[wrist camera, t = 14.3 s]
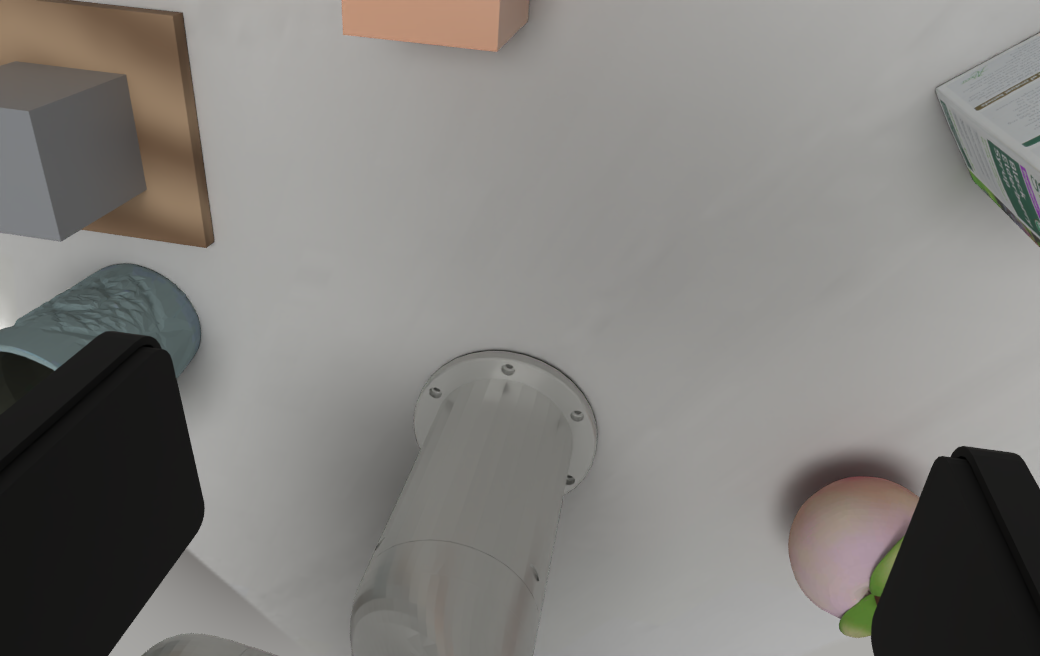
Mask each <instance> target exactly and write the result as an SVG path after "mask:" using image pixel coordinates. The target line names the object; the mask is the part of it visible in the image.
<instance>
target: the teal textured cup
mask: <svg viewBox="0 0 1040 656" xmlns="http://www.w3.org/2000/svg"><path fill="white" fill-rule="evenodd" d="M105 331H117V332H124V333H131V334H139V335H146V336H151V337H153V338H155V339H156V340H157V341H158V342H159V343H160V346H161V348H162V349H164V350H166V351H168V353H169V354H170V355H171V358H172V361H173V366H174V370H175V375H176V378H177V377H179V375H180V374H181V373H182V372H183V370H184V369H185V368H186V366H187V365H188V364H189V363H190V361H191V360H192V358H193V357H194V356H195V354H196V352H197V350H198V347H199V344H200V338H201V331H200V324H199V319H198V315H197V313H196V312H195V310H194V308H193V306H192V304H191V302H190V301H189V300H188V299H187V298H186V294H184V293H183V292H182V291H181V290H179V289H178V288H177V286H176V285H175V284H173V283H172V282H171V281H170V280H168V279H166V278H165V277H164V276H161V275H160V274H158V273H156V272H154V271H152V270H149V269H147V268H145V267H140V266H139V265H134V264H117V265H112V266H108V267H105V268H103V269H101V270H99V271H97V272H96V273H94V274H92V275H91V276H89V277H87V278H86V279H84V280H83V281H81V282H79V283H78V284H77V285H75V286H73V287H72V288H71V289H68V290H66V291H65V292H63V293H61V294H59V295H57V296H55V297H54V298H53V299H51V300H50V301H49V302H45V303H44V304H42V305H41V306H40V307H38V308H36V309H34V310H32V311H31V312H29V313H28V314H26V315H24V316H23V317H21V318H19V319H18V320H17V321H16V323H15V325H14V326H12V327H8V328H4V329H1V330H0V415H1V414H2V413H3V412H4V411H6V410H7V409H8V408H9V407H11V406H12V405H13V404H14V403H16V402H17V401H18V400H19V399H21V398H22V397H23V396H24V395H25V394H27V393H28V392H29V391H30V390H32V389H33V388H34V387H35V386H37V385H38V384H39V383H40V382H41V381H43V380H44V379H45V378H46V377H48V376H49V375H50V374H51V373H53V372H54V371H55V370H56V369H57V368H59V367H60V366H61V365H62V364H64V363H65V362H66V361H67V360H69V359H70V358H71V357H72V356H74V355H75V354H76V353H77V352H78V351H80V350H81V349H82V348H83V347H85V346H86V345H87V344H88V343H90V342H91V341H92V340H93V339H94V338H96V337H97V336H98V335H100V334H102V333H103V332H105Z"/></svg>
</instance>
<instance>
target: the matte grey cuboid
mask: <svg viewBox="0 0 1040 656" xmlns="http://www.w3.org/2000/svg"><path fill="white" fill-rule="evenodd" d="M146 190H147V187H146V182H145V176H144V171H143V165H142V160H141V154H140V149H139V143H138V138H137V132H136V126H135V121H134V115H133V110H132V104H131V99H130V93H129V88H128V82H127V77H126V75H125V74H117V73H109V72H100V71H92V70H84V69H76V68H67V67H59V66H51V65H43V64H34V63H26V62H18V61H15V62H11V63H8V64H4V65H1V66H0V233H7V234H13V235H20V236H27V237H33V238H40V239H47V240H54V241H60V242H61V241H63V240H64V239H66V238H68V237H69V236H71V235H73V234H74V233H76V232H78V231H79V230H81V229H83V228H84V227H86V226H88V225H89V224H91V223H93V222H94V221H96V220H98V219H99V218H101V217H102V216H104V215H106V214H107V213H109V212H111V211H112V210H114V209H116V208H117V207H119V206H121V205H122V204H124V203H126V202H127V201H129V200H131V199H132V198H134V197H136V196H137V195H139V194H141V193H142V192H144V191H146Z"/></svg>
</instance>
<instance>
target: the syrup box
mask: <svg viewBox="0 0 1040 656" xmlns="http://www.w3.org/2000/svg"><path fill="white" fill-rule="evenodd" d="M936 93H937V96H938V99H939V102H940V105H941V107H942V110H943V112H944V115H945V117H946V120H947V122H948V125H949V127H950V130H951V132H952V134H953V136H954V139H955V141H956V143H957V145H958V148H959V150H960V152H961V154H962V157H963V159H964V161H965V163H966V165H967V167H968V169H969V171H970V174H971V176H972V179H973V181H974V182H975V183H976V184H977V185H978V186H979V187H980V188H981V189H982V190H983V191H984V192H985V193H986V194H987V195H988V196H989V197H990V198H991V199H992V200H993V201H994V202H995V203H996V204H997V205H998V206H999V207H1000V208H1001V209H1002V210H1003V211H1004V212H1005V213H1006V214H1007V215H1008V216H1009V217H1010V218H1011V219H1012V220H1013V221H1014V222H1015V223H1016V224H1017V225H1018V226H1019V227H1020V228H1021V229H1022V230H1023V231H1024V232H1025V233H1026V234H1027V235H1028V236H1029V237H1030V238H1031V239H1032V240H1033V241H1034V242H1035V243H1036V244H1037V245H1038V246H1039V247H1040V33H1038V34H1037V35H1035V36H1033V37H1031V38H1029V39H1027V40H1025V41H1023V42H1021V43H1019V44H1017V45H1016V46H1014V47H1012V48H1010V49H1008V50H1006V51H1004V52H1003V53H1001V54H999V55H997V56H995V57H993V58H991V59H990V60H988V61H986V62H984V63H982V64H980V65H978V66H976V67H975V68H973V69H971V70H969V71H967V72H965V73H963V74H962V75H960V76H958V77H956V78H954V79H952V80H950V81H948V82H947V83H945V84H943V85H941V86H939V87H937V88H936Z"/></svg>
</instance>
